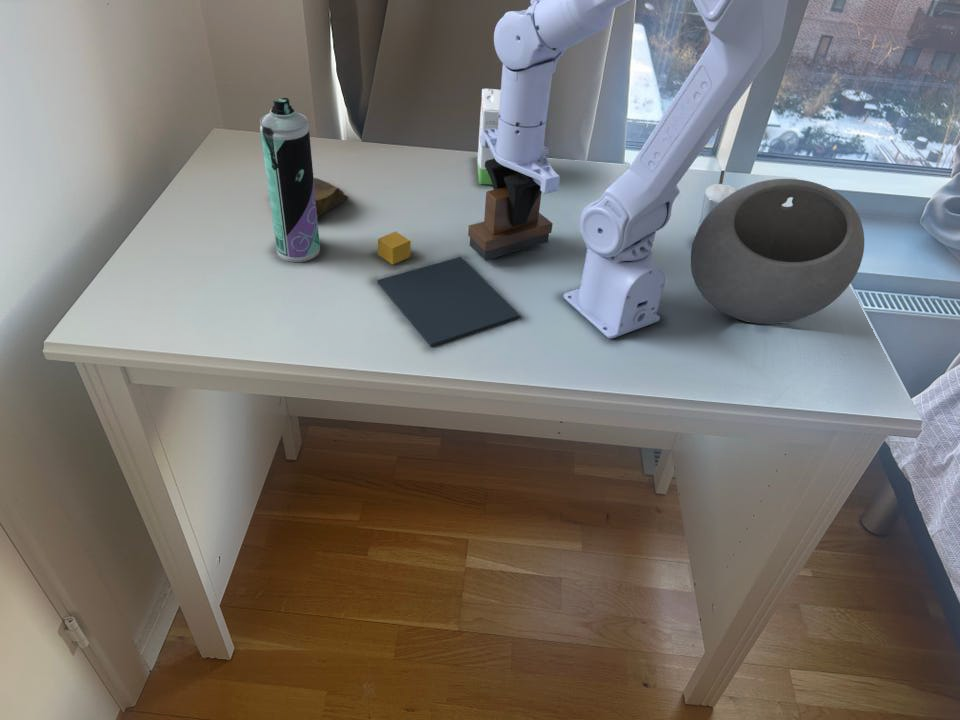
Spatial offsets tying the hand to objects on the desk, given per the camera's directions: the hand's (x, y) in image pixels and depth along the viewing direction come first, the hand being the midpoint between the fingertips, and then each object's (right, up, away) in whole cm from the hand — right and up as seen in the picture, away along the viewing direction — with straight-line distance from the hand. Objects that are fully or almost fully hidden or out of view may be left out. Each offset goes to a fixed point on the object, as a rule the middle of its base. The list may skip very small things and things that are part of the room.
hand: (512, 218), depth 96 cm
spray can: (-28, -4, 0) cm, 28 cm away
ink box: (-2, +11, +20) cm, 23 cm away
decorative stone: (-29, +4, +10) cm, 30 cm away
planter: (+29, -14, -5) cm, 32 cm away
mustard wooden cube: (-15, -5, 0) cm, 16 cm away
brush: (0, -3, +3) cm, 4 cm away
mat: (-8, -11, -6) cm, 15 cm away
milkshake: (+28, -2, +8) cm, 29 cm away
